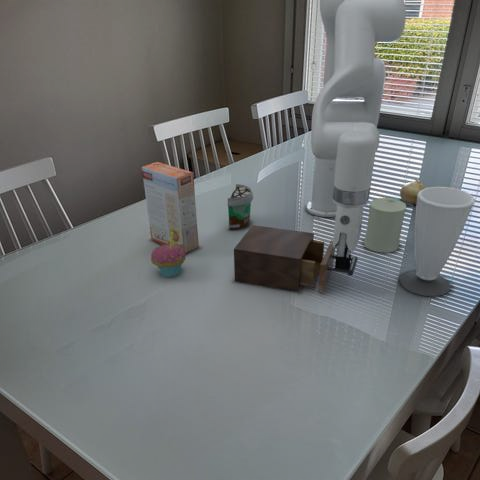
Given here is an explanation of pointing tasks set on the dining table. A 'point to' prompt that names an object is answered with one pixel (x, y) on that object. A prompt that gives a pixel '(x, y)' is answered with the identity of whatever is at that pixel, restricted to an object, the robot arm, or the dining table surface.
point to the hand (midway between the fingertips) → (341, 270)
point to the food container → (240, 207)
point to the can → (384, 224)
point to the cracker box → (171, 205)
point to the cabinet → (271, 257)
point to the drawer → (321, 264)
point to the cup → (436, 237)
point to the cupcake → (168, 258)
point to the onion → (411, 192)
